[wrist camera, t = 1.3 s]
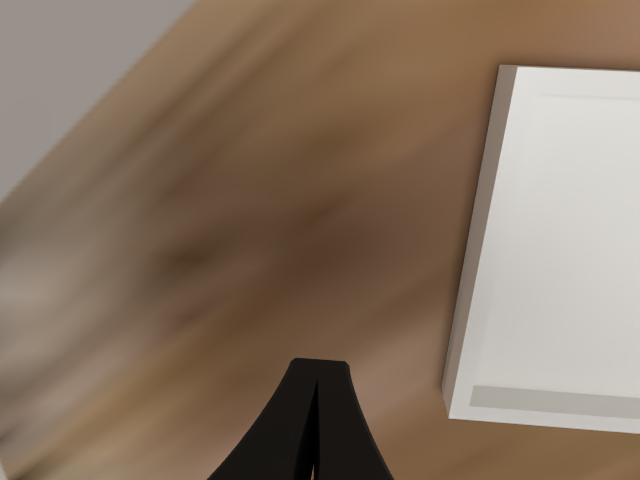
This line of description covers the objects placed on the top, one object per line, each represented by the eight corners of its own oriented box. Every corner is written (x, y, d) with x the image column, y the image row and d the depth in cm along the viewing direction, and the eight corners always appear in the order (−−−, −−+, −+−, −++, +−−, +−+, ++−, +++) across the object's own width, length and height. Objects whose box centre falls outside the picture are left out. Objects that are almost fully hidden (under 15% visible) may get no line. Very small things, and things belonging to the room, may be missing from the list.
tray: (440, 387, 23) (448, 418, 21) (499, 64, 17) (517, 66, 15) (691, 407, 22) (721, 440, 20) (843, 79, 16) (907, 83, 14)
